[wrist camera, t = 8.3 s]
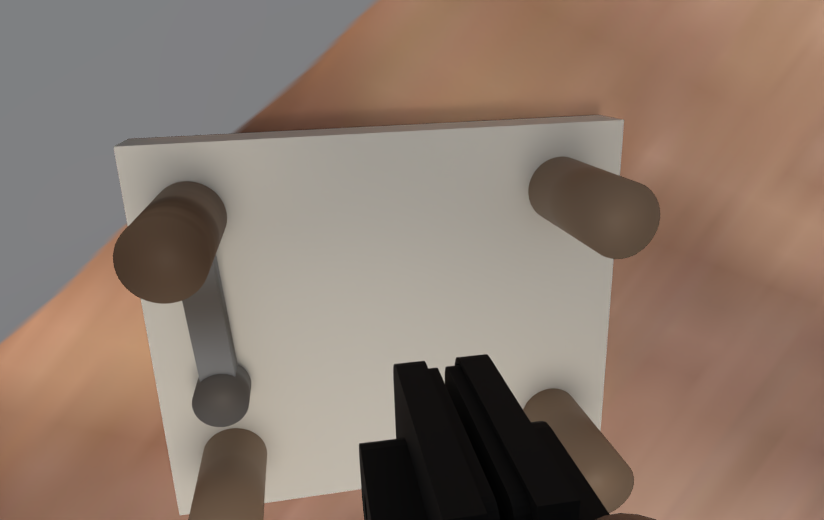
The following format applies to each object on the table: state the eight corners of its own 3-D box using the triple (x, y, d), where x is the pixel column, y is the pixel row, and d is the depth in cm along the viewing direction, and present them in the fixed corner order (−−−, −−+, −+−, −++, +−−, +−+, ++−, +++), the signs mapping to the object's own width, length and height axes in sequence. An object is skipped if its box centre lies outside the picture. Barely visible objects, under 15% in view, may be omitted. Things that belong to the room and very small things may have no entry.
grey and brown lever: (261, 402, 29) (255, 484, 24) (195, 413, 29) (173, 499, 23) (220, 177, 26) (200, 211, 20) (144, 185, 25) (102, 223, 20)
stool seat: (598, 114, 31) (705, 135, 23) (579, 429, 37) (658, 532, 29) (128, 138, 27) (62, 173, 19) (187, 482, 33) (155, 618, 25)
